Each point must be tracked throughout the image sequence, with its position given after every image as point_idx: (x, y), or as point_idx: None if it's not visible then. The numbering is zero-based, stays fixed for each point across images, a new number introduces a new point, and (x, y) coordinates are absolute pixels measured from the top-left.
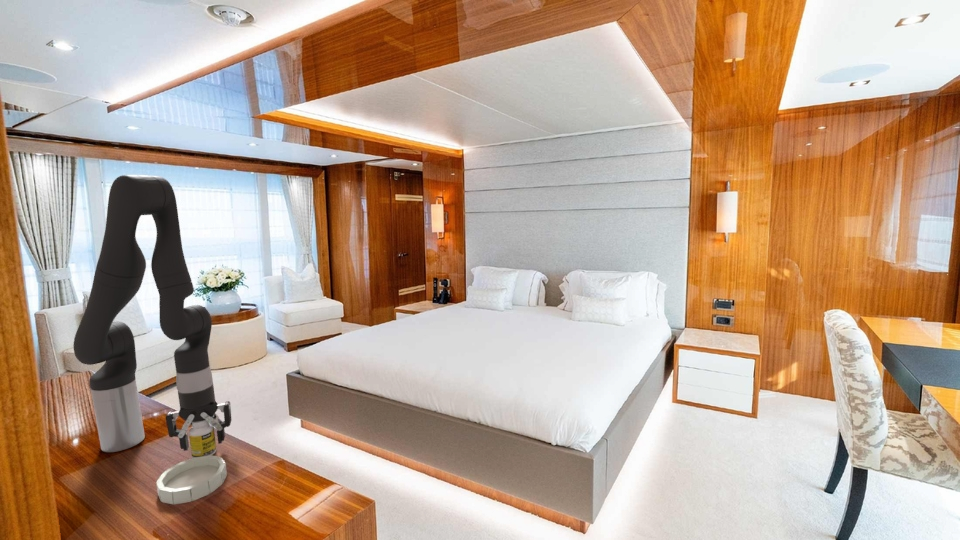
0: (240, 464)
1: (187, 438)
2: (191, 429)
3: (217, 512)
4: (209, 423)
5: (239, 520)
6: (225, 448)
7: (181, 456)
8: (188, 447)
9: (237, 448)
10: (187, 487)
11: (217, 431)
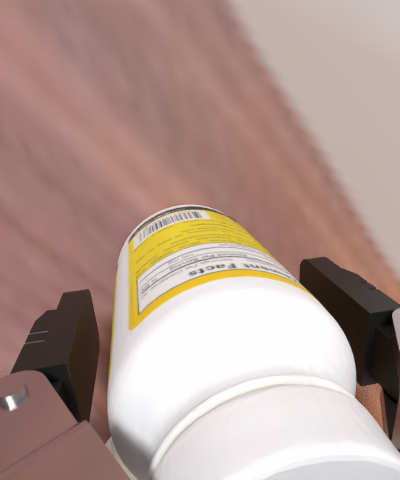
0: (373, 394)
1: (80, 343)
2: (146, 470)
3: None
4: (332, 369)
5: None
6: (298, 235)
7: (40, 258)
8: (92, 303)
9: (360, 254)
10: None
11: (365, 383)
